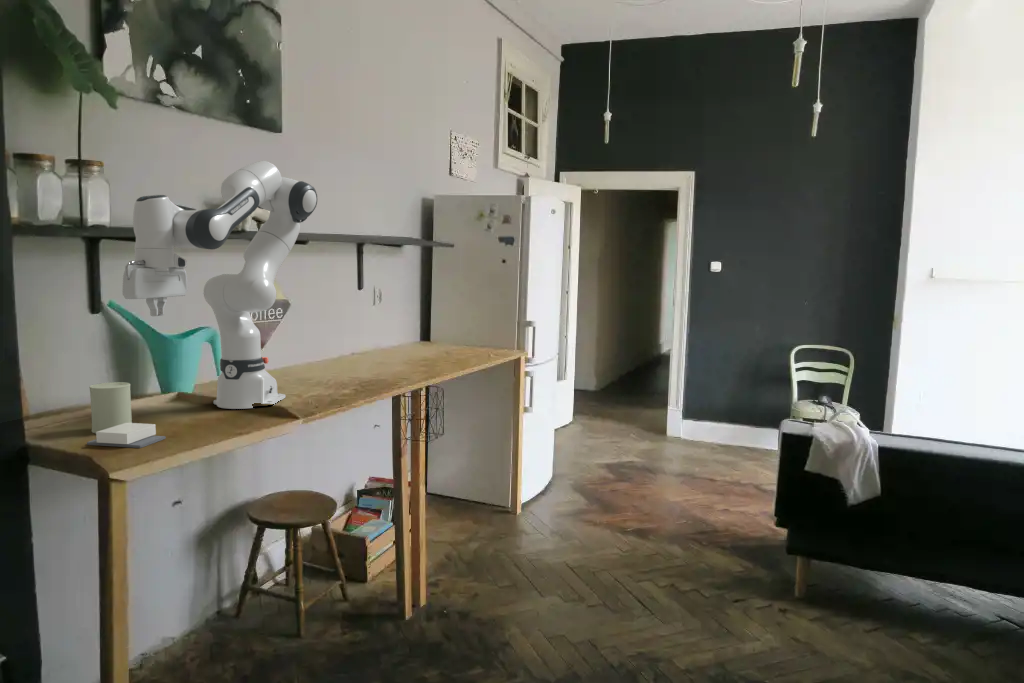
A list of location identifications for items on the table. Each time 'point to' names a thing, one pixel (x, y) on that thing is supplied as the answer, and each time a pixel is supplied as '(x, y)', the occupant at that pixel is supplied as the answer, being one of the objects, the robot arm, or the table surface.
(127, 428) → the white box
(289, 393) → the table surface
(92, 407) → the pale green cylinder
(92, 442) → the mat
